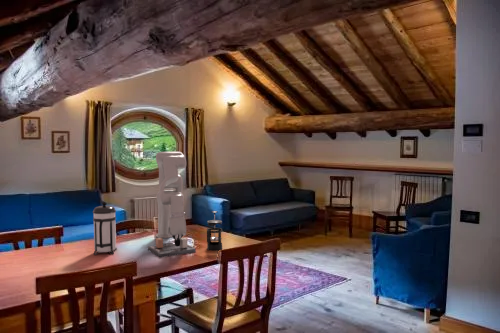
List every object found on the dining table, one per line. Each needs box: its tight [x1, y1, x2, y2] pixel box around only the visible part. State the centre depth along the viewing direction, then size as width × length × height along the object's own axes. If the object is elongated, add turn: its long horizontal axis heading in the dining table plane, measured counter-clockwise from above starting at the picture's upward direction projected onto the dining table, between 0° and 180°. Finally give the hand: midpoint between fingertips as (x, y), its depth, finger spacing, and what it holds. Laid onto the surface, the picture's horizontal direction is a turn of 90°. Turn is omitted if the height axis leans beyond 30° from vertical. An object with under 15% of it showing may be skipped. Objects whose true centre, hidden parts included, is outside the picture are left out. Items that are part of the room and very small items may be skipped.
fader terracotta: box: [155, 237, 164, 248], centre depth 254 cm, size 4×3×5 cm
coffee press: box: [92, 201, 118, 256], centre depth 249 cm, size 17×16×30 cm
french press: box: [206, 210, 223, 252], centre depth 259 cm, size 12×9×23 cm
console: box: [147, 242, 197, 259], centre depth 254 cm, size 20×22×3 cm
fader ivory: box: [180, 237, 188, 248], centre depth 254 cm, size 4×3×5 cm
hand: (177, 245), depth 252 cm, fingers closed
